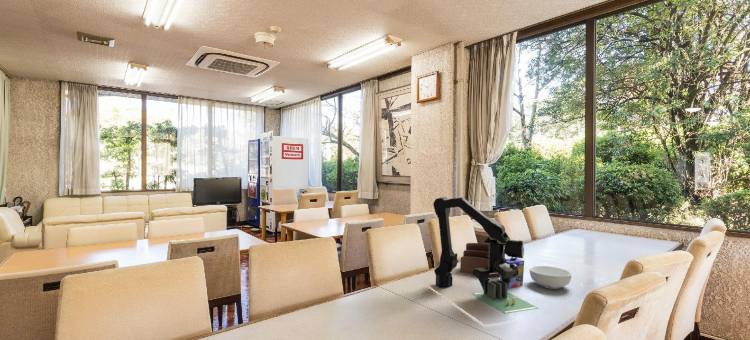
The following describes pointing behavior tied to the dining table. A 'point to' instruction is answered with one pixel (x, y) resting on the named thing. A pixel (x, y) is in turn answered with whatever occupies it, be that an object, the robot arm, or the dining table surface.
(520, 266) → the ink cartridge box
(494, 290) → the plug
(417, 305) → the dining table surface
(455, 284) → the dining table surface
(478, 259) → the letter holder
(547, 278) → the cereal bowl
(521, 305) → the board
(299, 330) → the dining table surface
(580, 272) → the dining table surface
